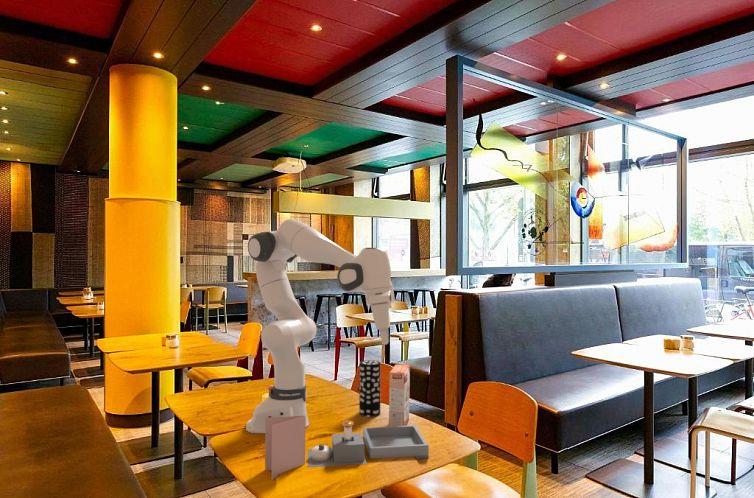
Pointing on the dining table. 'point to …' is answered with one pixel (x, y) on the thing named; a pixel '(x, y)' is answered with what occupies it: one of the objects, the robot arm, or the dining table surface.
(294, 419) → the greeting card
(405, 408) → the cracker box
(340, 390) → the dining table surface
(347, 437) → the lock pin
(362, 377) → the white-spotted black cylinder
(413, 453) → the tray
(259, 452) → the dining table surface
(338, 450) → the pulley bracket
